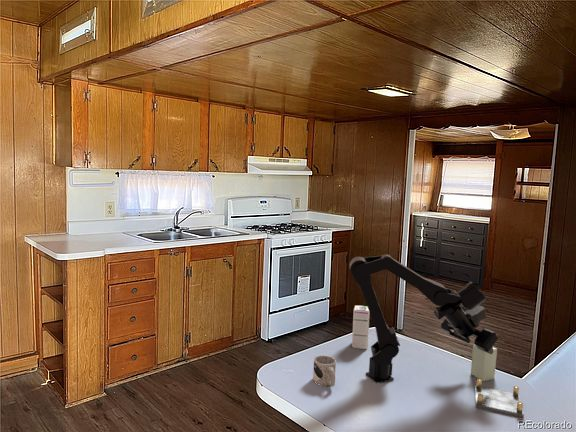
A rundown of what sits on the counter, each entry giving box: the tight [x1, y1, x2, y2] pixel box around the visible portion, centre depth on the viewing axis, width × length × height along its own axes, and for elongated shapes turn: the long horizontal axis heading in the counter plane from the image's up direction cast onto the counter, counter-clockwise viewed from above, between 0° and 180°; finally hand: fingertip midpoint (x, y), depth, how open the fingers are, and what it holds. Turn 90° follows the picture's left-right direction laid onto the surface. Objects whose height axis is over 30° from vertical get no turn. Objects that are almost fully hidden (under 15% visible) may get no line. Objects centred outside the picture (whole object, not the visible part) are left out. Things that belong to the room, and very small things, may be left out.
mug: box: [312, 355, 337, 388], centre depth 135 cm, size 10×7×7 cm
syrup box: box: [351, 305, 370, 350], centre depth 165 cm, size 6×6×14 cm
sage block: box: [470, 344, 498, 382], centre depth 144 cm, size 5×5×10 cm
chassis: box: [474, 378, 525, 419], centre depth 128 cm, size 12×12×3 cm
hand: (480, 347), depth 143 cm, fingers open, 9 cm apart
